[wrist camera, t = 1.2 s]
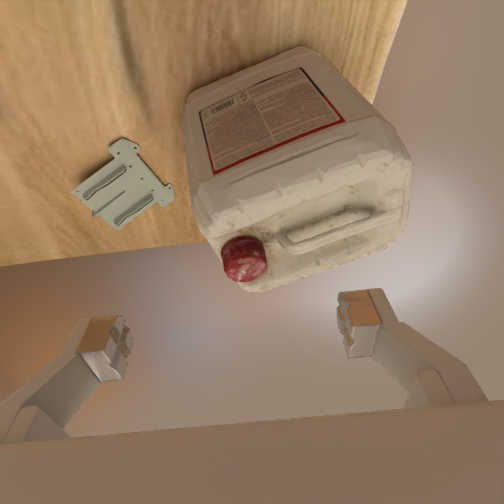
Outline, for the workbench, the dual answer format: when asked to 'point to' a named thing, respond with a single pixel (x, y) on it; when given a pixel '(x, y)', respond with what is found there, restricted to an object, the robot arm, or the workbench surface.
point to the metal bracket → (123, 187)
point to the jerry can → (292, 170)
